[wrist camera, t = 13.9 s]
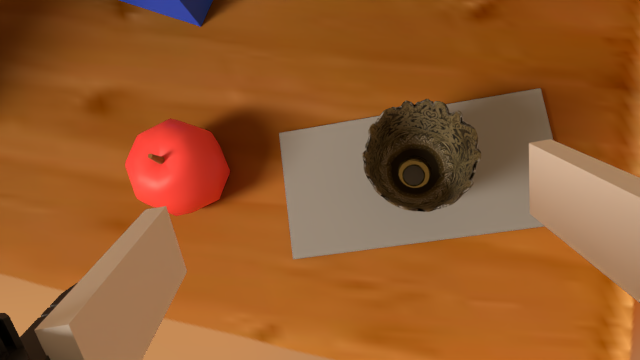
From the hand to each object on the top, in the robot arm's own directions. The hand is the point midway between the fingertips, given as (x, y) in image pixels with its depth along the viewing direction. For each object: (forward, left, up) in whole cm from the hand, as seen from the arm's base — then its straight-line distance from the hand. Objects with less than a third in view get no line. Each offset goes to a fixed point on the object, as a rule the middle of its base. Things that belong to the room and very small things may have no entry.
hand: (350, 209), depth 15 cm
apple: (-15, +7, -21) cm, 26 cm away
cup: (+4, +4, -20) cm, 21 cm away
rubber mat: (+4, +4, -20) cm, 21 cm away
